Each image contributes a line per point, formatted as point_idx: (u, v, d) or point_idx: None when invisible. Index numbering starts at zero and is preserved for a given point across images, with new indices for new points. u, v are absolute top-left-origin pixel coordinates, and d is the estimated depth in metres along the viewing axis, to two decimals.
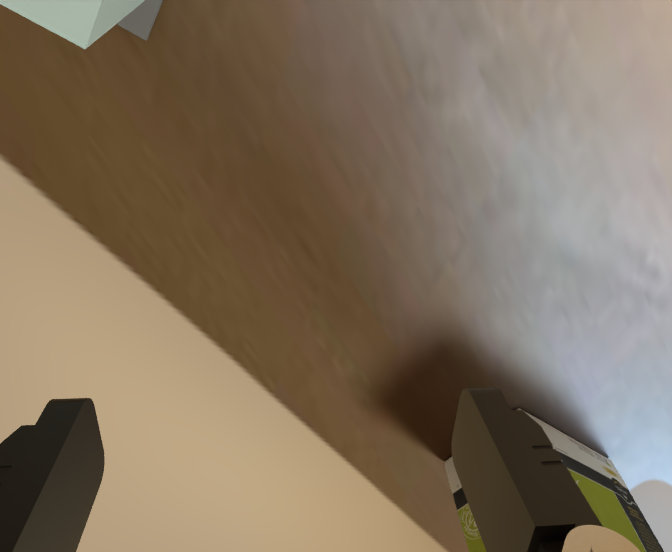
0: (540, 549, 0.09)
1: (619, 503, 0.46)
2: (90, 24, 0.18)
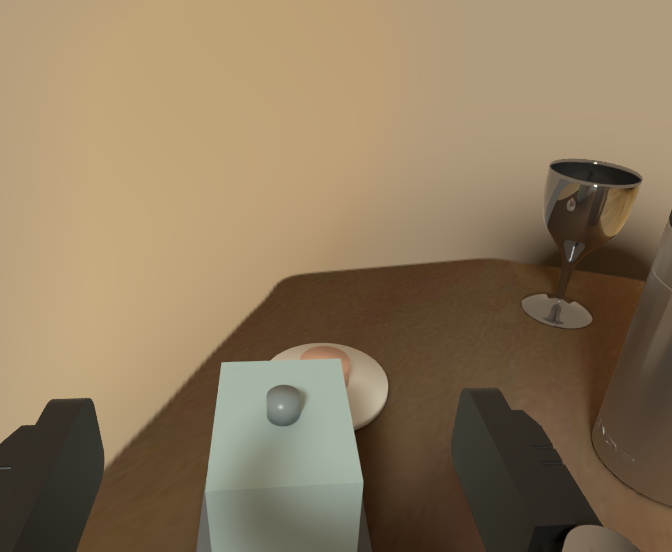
0: (540, 548, 0.09)
1: None
2: (226, 488, 0.22)
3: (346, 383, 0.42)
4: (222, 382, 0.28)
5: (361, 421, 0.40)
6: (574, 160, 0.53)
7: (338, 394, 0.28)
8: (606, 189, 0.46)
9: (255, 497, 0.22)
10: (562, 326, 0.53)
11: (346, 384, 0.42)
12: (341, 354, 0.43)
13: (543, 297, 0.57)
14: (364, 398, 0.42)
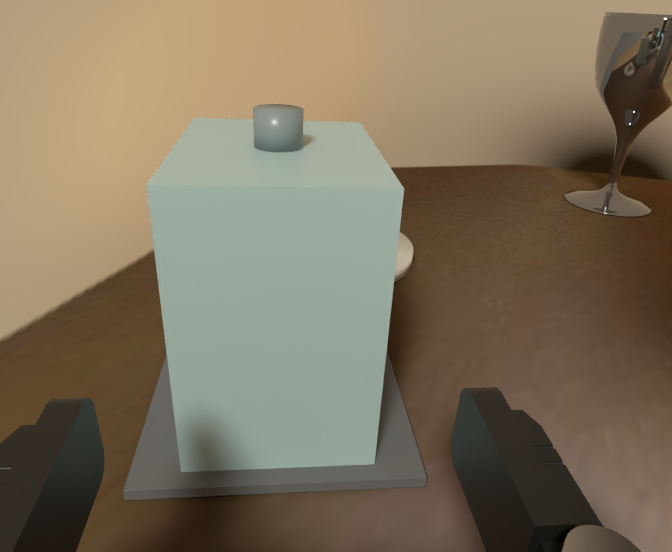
0: (540, 549, 0.09)
1: None
2: (181, 184, 0.14)
3: None
4: (192, 127, 0.20)
5: None
6: None
7: (358, 139, 0.19)
8: None
9: (230, 204, 0.14)
10: (617, 214, 0.44)
11: None
12: None
13: (590, 190, 0.48)
14: None
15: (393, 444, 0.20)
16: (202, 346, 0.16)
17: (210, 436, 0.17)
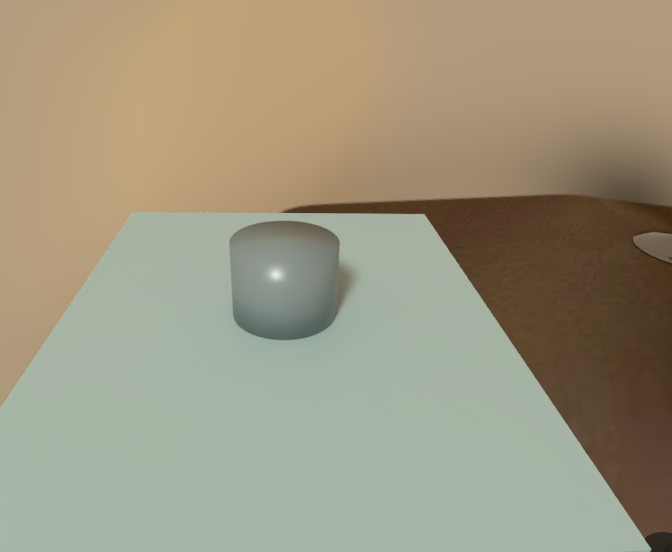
0: None
1: None
2: None
3: None
4: (120, 243, 0.10)
5: None
6: None
7: (440, 272, 0.10)
8: None
9: None
10: None
11: None
12: None
13: (664, 234, 0.39)
14: None
15: None
16: None
17: None
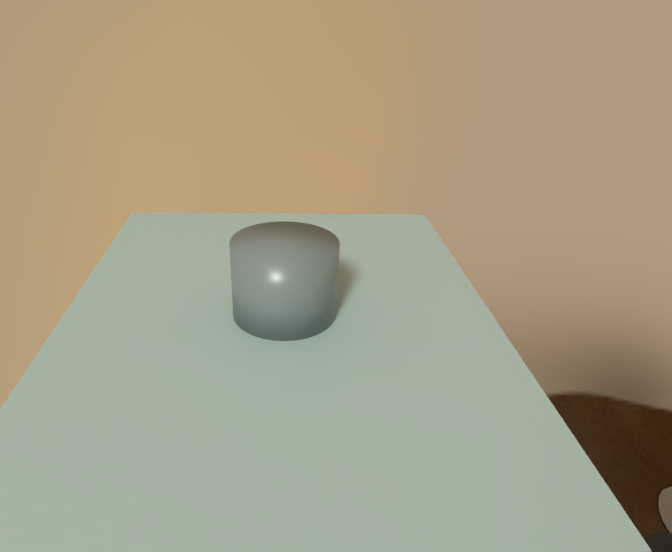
0: None
1: None
2: None
3: None
4: (120, 243, 0.10)
5: None
6: None
7: (440, 273, 0.10)
8: None
9: None
10: None
11: None
12: None
13: None
14: None
15: None
16: None
17: None
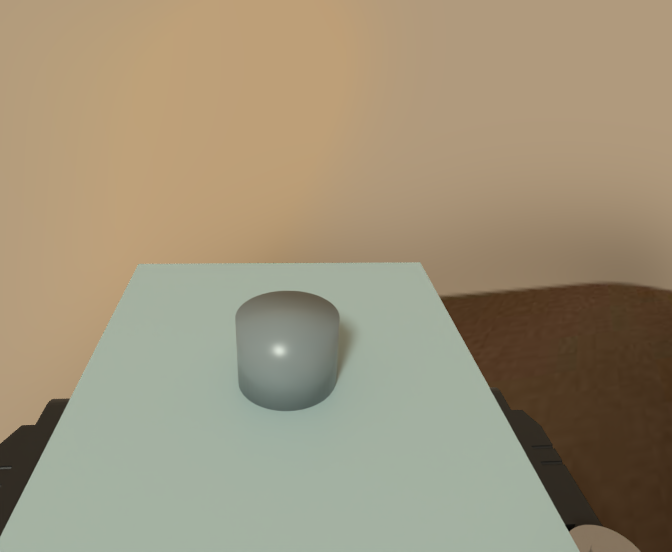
0: None
1: None
2: None
3: None
4: (128, 301, 0.11)
5: None
6: None
7: (435, 331, 0.10)
8: None
9: None
10: None
11: None
12: None
13: None
14: None
15: None
16: None
17: None
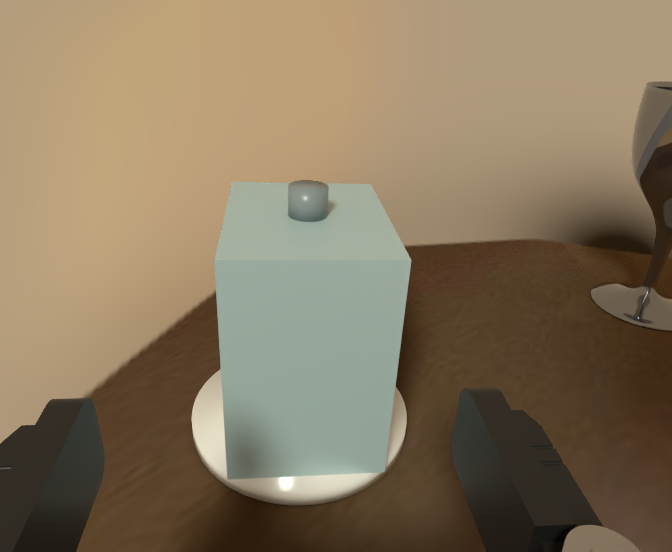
0: (540, 549, 0.09)
1: None
2: (240, 259, 0.18)
3: None
4: (233, 193, 0.24)
5: (362, 480, 0.23)
6: None
7: (371, 205, 0.23)
8: None
9: (277, 273, 0.18)
10: (658, 327, 0.36)
11: None
12: None
13: (621, 287, 0.40)
14: None
15: None
16: (250, 379, 0.20)
17: (252, 450, 0.21)
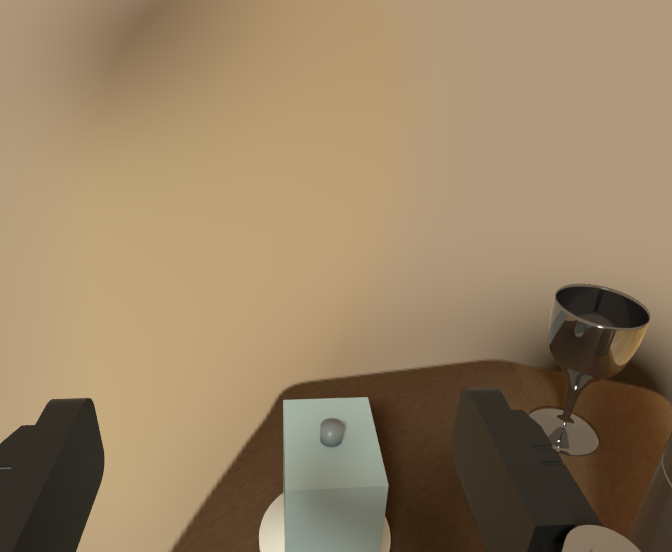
0: (540, 549, 0.09)
1: None
2: (298, 489, 0.34)
3: None
4: (286, 415, 0.40)
5: None
6: (580, 284, 0.52)
7: (368, 424, 0.39)
8: (613, 332, 0.45)
9: (317, 494, 0.34)
10: (568, 453, 0.52)
11: None
12: None
13: (548, 415, 0.56)
14: None
15: None
16: (301, 541, 0.36)
17: None
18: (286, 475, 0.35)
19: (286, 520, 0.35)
